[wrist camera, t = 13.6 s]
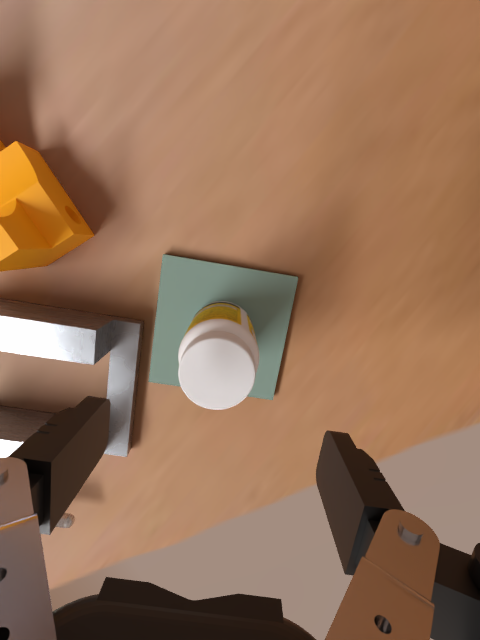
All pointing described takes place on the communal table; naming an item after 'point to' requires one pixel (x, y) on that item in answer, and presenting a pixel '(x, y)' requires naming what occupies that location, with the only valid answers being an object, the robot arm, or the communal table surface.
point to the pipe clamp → (34, 212)
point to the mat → (211, 286)
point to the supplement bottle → (218, 356)
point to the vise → (76, 346)
